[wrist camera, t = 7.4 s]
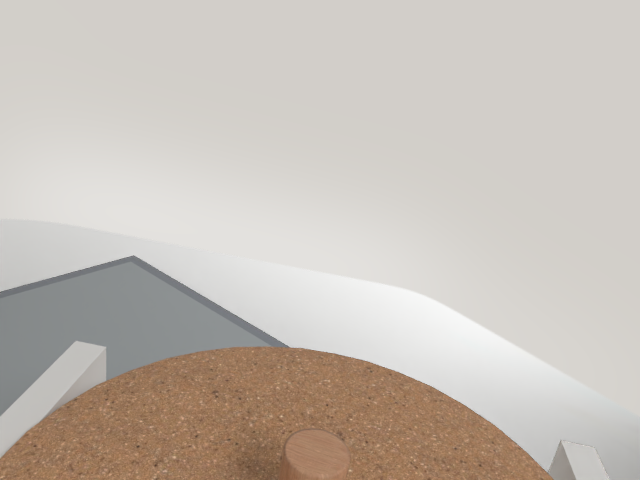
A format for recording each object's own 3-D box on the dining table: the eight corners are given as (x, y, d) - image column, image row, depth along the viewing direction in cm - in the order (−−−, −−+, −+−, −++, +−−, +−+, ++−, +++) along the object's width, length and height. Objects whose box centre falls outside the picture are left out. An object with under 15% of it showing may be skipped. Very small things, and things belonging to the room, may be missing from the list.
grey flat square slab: (325, 378, 29) (327, 367, 29) (3, 597, 17) (1, 581, 16) (133, 263, 37) (133, 254, 37) (-178, 352, 25) (-181, 339, 25)
